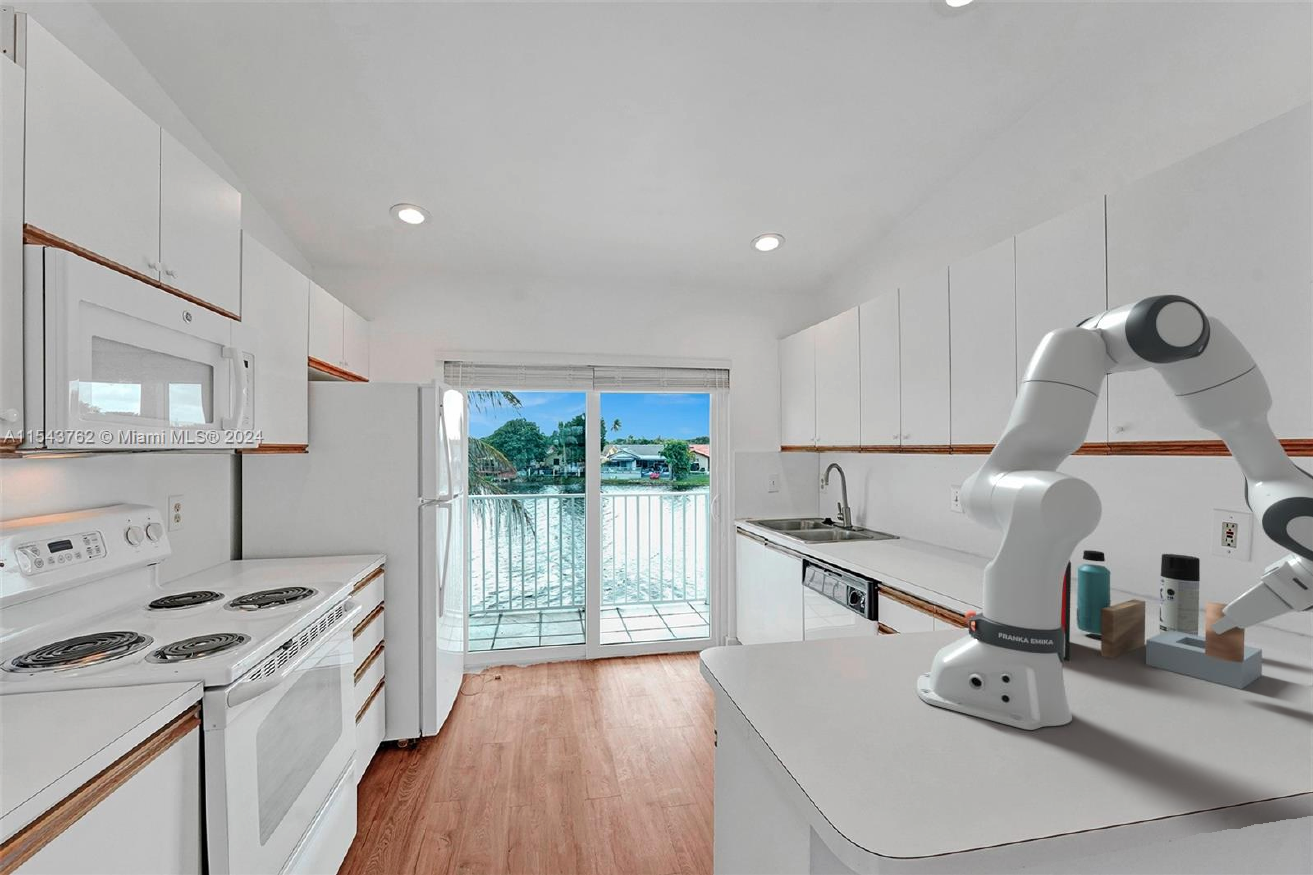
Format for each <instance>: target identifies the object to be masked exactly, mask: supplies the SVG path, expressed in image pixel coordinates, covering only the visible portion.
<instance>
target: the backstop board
mask: <svg viewBox="0 0 1313 875" xmlns="http://www.w3.org/2000/svg"><path fill="white" fill-rule="evenodd" d="M1100 636H1101V641H1100V656H1101V657H1104V658H1108V659H1112V660H1113V659H1116V658H1118V657H1121V656H1122V655H1125V654H1128V653H1129V652H1132V651H1135V650H1137V649H1140V648H1142V647H1144V646H1146V601H1145V600H1141V599H1136V598H1134V599H1130V600H1127V601H1124V602H1121V603H1117V604H1113V605H1110V606H1109V607H1106V608H1103V609H1102V628H1101V634H1100Z"/></svg>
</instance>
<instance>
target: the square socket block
mask: <svg viewBox="0 0 1313 875" xmlns="http://www.w3.org/2000/svg"><path fill="white" fill-rule="evenodd" d="M1145 646H1146V647H1145V648H1146V649H1145V650H1146V651H1145V665H1146V666H1150V667H1155V668H1157V669H1161V670H1165V671H1169V672H1173V673H1177V674H1181V675H1185V676H1188V677H1192V678H1197V679H1200V680H1204V681H1209V682H1212V683H1215V684H1220V685H1224V686H1227V687H1231V688H1234V689H1239V690H1243V689H1244V688H1245V687H1247V686H1248V685H1250V684H1251V683H1252V682H1254V681H1256V680H1257V679H1258V678H1260V677H1261V676H1262V674H1263V671H1262V670H1263V649H1261V648H1258V647H1253V646H1246V645H1244V662H1232V661H1226V660H1221V659H1217V658H1213V657H1210V656H1208V655H1206V654H1205V636H1202V635H1201V636H1200V635H1198V636H1196V635H1192V634H1187V633H1182V632H1178V631H1173V630H1169V631H1167V632H1164V633H1162V634H1157V635H1155V636H1152V637H1150V638H1148V639H1145Z"/></svg>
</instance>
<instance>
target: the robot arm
mask: <svg viewBox="0 0 1313 875" xmlns="http://www.w3.org/2000/svg"><path fill="white" fill-rule="evenodd" d="M1246 348H1247V347H1245V346H1244V344H1242V342H1241V341H1240V340H1239V339H1238V338H1237V336H1236V335H1235V334H1234V333H1233V332H1232V331H1231V329H1229V328H1228V327H1227V326H1226V325H1225V324H1224V323H1223V322H1222V321H1221V320H1219V319H1218V318H1216V317H1214V316H1211V315H1207V314H1206V313H1205V311H1203V309H1202V308H1201V307H1200V306H1198V304H1196V303H1195V302H1193V301H1192V300H1191V299H1189V298H1187V297H1185V296H1181V295H1177V294H1162V295H1160V294H1159V295H1155V296H1149V297H1147V298H1144V299H1142V300H1139V301H1135V302H1131V303H1127V304H1124V305H1119V306H1115V307H1112V308H1110V309H1108V310H1107V309H1106V310H1105V311H1104V312H1101V313H1099V314H1097V315H1095V316H1091V317H1088V318H1086V319H1084V320H1082V321H1080V322H1079V323H1078V324H1077V325H1075V326H1064V327H1059V328H1055V329H1052V330H1051V331H1049V332H1047V333H1046V334H1045V335H1044V336H1043V337H1042V338H1041V340H1040V342H1039V343H1038V344H1037V346H1036V348H1035V351H1034V352H1033V354H1032V356H1031V358H1030V360H1029V362H1028V365H1027V367H1026V369H1025V372H1024V374H1023V377H1022V379H1021V383H1020V386H1019V389H1018V392H1017V395H1016V398H1015V401H1014V404H1013V407H1012V410H1011V412H1010V413H1011V414H1010V416H1009V418H1008V421H1007V424H1006V425H1005V426H1006V427H1005V428H1004V430H1003V432H1002V434H1001V436H1000V438H999V439H998V441H997V442H996V444H995V446H994V448H993V449H992V450H991V452H990V453H989V455H988V457H987V458H986V460H985V461H984V462H983V464H982V465H981V466H980V467H979V469H978V470H977V471H976V472H974V473H973V474H971V475H970V476H969V477H968V478H966V479H965V481H964V482H963V484H962V485H961V488H960V492H959V501H960V506H961V508H962V510H963V512H964V513H965V515H967V516H968V517H969V518H970V519H972V520H973V521H975V522H976V523H977V524H980V525H981V526H983V527H985V528H987V529H990V530H993V531H998V532H1002V538H1001V541H1000V542H1001V543H1000V547H999V549H998V552H997V554H996V555H995V557H994V558H993V560H991V561H990V562H988V563H987V565H986V566H985V567H984V570H983V573H982V574H983V575H982V577H983V581H982V582H983V584H982V612H981V613H978V614H977V612H976V611H974V610H968V611H967V612H966V613H965V615H964V616H965V621H966V622H967V623H968V634H967V635H965V636H963V637H962V638H960V639H957V640H955V641H953V642H951V643H950V644H948V645H945V646H943V647H942V648H941V649H939V650H938V651H937V652H936V654H935V656H934V658H933V661H932V664H931V669H930V671H929V672H928V671H927V672H924V673H923V674H921V675H919V677H918V678H917V681H916V694H917V695H918V696H919V698H920V699H921V700H922V701H924V702H925V703H927V704H929V705H933V706H937V707H940V708H944V709H948V710H951V711H955V712H960V713H963V714H967V715H970V716H972V717H973V716H974V717H977V718H982V719H985V720H989V721H993V722H997V723H1000V724H1004V725H1008V726H1012V727H1016V728H1018V729H1022V730H1026V731H1027V730H1028V731H1030V730H1031V731H1032V730H1033V731H1034V730H1037V729H1039V728H1043V727H1056V726H1063V725H1066V724H1069V723H1070V722H1071V721H1072V720H1073V714H1072V712H1071V710H1070V709H1071V708H1070V705H1069V702H1068V697H1067V693H1066V688H1065V680H1064V674H1063V673H1064V671H1063V662H1064V661H1065V660H1064V657H1065V633H1064V628H1063V627H1062V625H1061V610H1062V588H1063V579H1064V575H1065V571H1066V568H1067V565H1068V562H1069V560H1070V559H1071V557H1072V555H1073V553H1074V551H1075V550H1076V548H1077V546H1078V545H1079V544H1080V543H1081V541H1083V540H1084V539H1086V538H1087V537H1089V536H1090V535H1091V534H1092V533H1093V532H1094V531H1095V530H1096V529H1097V527H1098V525H1100V524H1099V523H1100V520H1101V517H1102V513H1103V512H1102V511H1103V510H1102V501H1101V498H1100V496H1099V494H1098V493H1097V490H1096V489H1095V488H1094V487H1093V486H1092V485H1091V484H1090V483H1088V482H1087V481H1085V480H1083V479H1080V478H1078V477H1075V476H1073V475H1071V474H1070V475H1069V474H1066V473H1064V472H1060V471H1057V469H1058V468H1059V466H1060V465H1061V464H1062V463H1063V462H1064V461H1065V460H1066V459H1067V458H1068V457H1069V456H1070V455H1072V454H1074V453H1075V452H1076V451H1078V450H1079V449H1080V448H1081V447H1082V446H1083V444H1084V443H1085V442H1086V438H1087V435H1088V432H1089V429H1090V425H1091V423H1092V420H1093V416H1094V413H1095V409H1096V406H1097V403H1098V400H1099V397H1100V394H1101V388H1102V385H1103V382H1104V379H1105V377H1106V376H1107V375H1111V374H1114V373H1115V374H1117V373H1124V372H1137V371H1141V370H1144V369H1148V368H1152V369H1154V370H1155V371H1157V372H1158V373H1159V374H1161V376H1162V378H1163V380H1164V383H1165V384H1166V386H1167V388H1168V390H1169V392H1170V393H1171V394H1172V396H1173V398H1174V399H1175V401H1176V402H1177V404H1178V405H1179V407H1180V408H1181V409H1182V410H1183V412H1184V413H1185V414H1186V415H1187V416H1188V417H1189V419H1191V420H1192V421H1193V423H1195V424H1196V425H1197V427H1199V428H1201V429H1203V430H1207V431H1209V432H1210V431H1211V432H1212V433H1213V434H1215V435H1216V436H1217V437H1218V438H1220V439H1221V441H1222V442H1223V443H1224V445H1225V446H1226V447H1227V449H1228V451H1229V453H1230V454H1231V456H1232V457H1233V459H1234V460H1235V462H1236V463H1237V465H1238V467H1239V469H1240V470H1241V472H1242V474H1243V476H1244V500H1245V503H1246V505H1247V508H1248V509H1249V510H1250V511H1251V512H1252V513H1253V516H1254V517H1255V518H1256V521H1257V523H1258V525H1259V526H1260V529H1261V530H1262V532H1263V533H1264V534H1265V536H1266V537H1267V538H1269V539H1270V540H1271V541H1272V542H1274V543H1276V544H1278V545H1280V547H1283V548H1284V549H1286V550H1288V551H1290V552H1291V553H1289V554H1288V555H1285V556H1284V557H1282V558H1281V559H1279V560H1277V561H1275V562H1272V563H1271V564H1270V565H1268V566H1266V567H1265V568H1264V574H1263V575H1262V576H1261V577H1260V578H1259V579H1260V581H1259V582H1258V583H1256V584H1255V585H1254V586H1253V587H1251V588H1249V589H1248V590H1246V591H1245V592H1243V594H1241V595H1240V596H1238V597H1237V598H1235V599H1234V600H1233V601H1231V602H1229V603H1228V604H1227V606H1226V607H1225V608H1224V609H1223V610H1222V612H1223V613H1224V614H1225V616H1224V617H1223V618H1221V619H1220V620H1218V621H1217V622H1215V623H1213V624H1211V625H1210V627H1211V629H1212V630H1213V631H1214V632H1216V633H1217V634H1221V633H1223V632H1225V631H1227V630H1229V629H1232V628H1234V627H1239V628H1241V629H1243V628H1245V629H1246V628H1249V627H1253V626H1255V625H1258V624H1261V623H1264V622H1266V621H1269V620H1271V619H1275V618H1276V617H1277V618H1278V617H1279V616H1282V615H1286V614H1289V613H1295V612H1296V613H1301V612H1309V613H1313V475H1312V474H1311V473H1310V472H1307V471H1306V470H1304V469H1303V468H1300V467H1299V466H1297V465H1296V464H1295V463H1294V462H1293V461H1292V460H1291V458H1290V457H1289V456H1288V454H1287V453H1286V451H1285V449H1284V448H1283V446H1282V444H1281V443H1280V441H1279V440H1278V438H1277V436H1276V434H1275V433H1274V432H1273V430H1272V428H1271V426H1270V423H1269V420H1268V413H1269V412H1270V410H1271V408H1272V405H1273V398H1272V394H1271V392H1270V389H1269V386H1268V383H1267V381H1266V378H1265V377H1264V375H1263V372H1262V371H1261V369H1260V367H1259V365H1258V364H1257V362H1256V361H1255V360H1254V358H1253V357H1252V355H1251V353H1250V352H1249V351H1248V350H1247V349H1246ZM1070 561H1071V560H1070Z"/></svg>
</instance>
